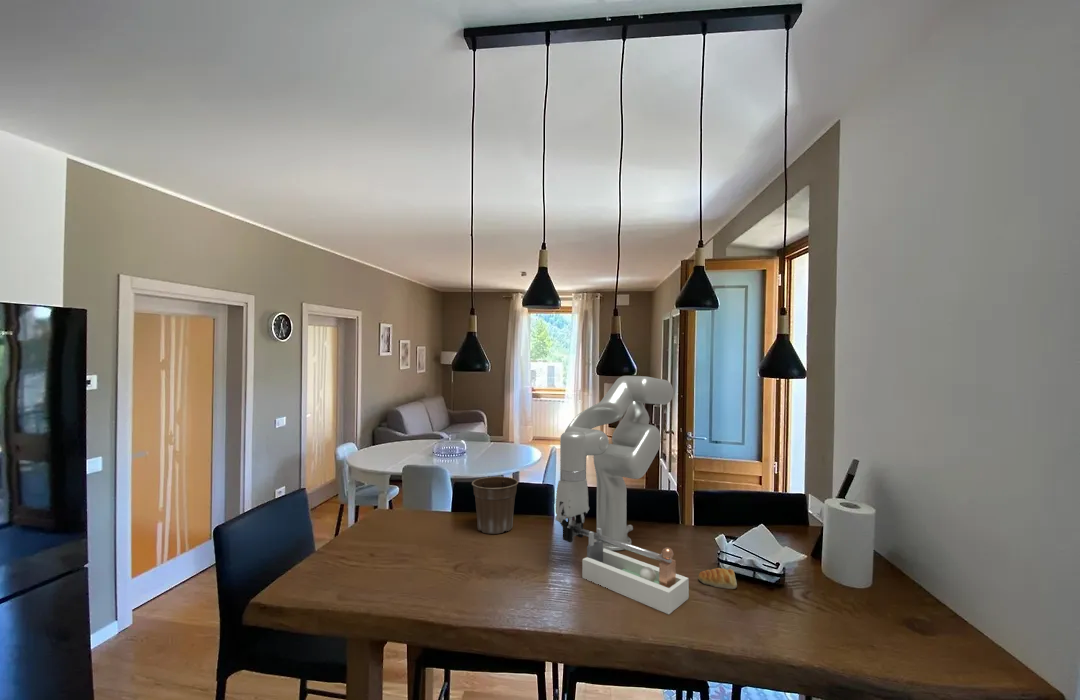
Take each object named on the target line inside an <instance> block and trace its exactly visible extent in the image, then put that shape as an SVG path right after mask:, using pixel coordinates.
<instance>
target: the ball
mask: <svg viewBox="0 0 1080 700" xmlns="http://www.w3.org/2000/svg"><path fill="white" fill-rule="evenodd" d="M640 577H641V578H644V579H646V580H649V581H652V582H654V581H655V579H656V574H655V572H654V570H653V569H652V568H650V567H644V568H642V569H641V571H640Z"/></svg>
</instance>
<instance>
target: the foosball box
mask: <svg viewBox="0 0 1080 700" xmlns="http://www.w3.org/2000/svg"><path fill="white" fill-rule="evenodd" d="M589 531H590V532H589V537H588V545H586V557H584V558H582V563H581V564H582V568H581V569H582V574H581V575H582V576H581V577H582V579H585V580H586V579H587V581H589V582H591V581H592V582H591V583H593V582H594V584H596V585H598V584H599V585H598V586H600V585H601V587H603V588H605V587H606V589H607V588H608V590H610V591H613V592H614V593H617V594H620V595H622V596H625V597H627V598H629V599H632V600H633V601H636V602H638V603H640V604H642V605H646V606H648V607H650V608H652V609H654V610H657V611H659V612H662V613H664V614H666V615H671V614H672V613H673V612H674V611H675V610H676V609H678V608H679V607H680V606H681V605H683V604H684V603H685V602H686V601H687V600H689V597H690V594H689V592H690V590H689V587H690V586H689V583H690V582H689V580H690V579H689V577H686V576H684V575H681V574H679V573H676V583H675V584H674V585H673V586H671V587H670V588H667V587H665V586H662V585H660V584H659V566H656V565H653V564H650V563H647V562H644V561H641V560H638V559H635V558H633V557H631V556H628V555H625V554H621V553H619V552H616V551H614V550H608V549H605V548H604V549H603V542H602V541H599V540H597V541H596V542H594V533H595V532H594V531H591V530H589ZM596 533H597V534H600V535H602V529H601V528H597V527H596ZM644 567H650V568H652V569H653V570H654V572H655V574H656V579H655V581H654V582H652V581H649V580H646V579H644V578H641V577H640V571H641V569H642V568H644Z"/></svg>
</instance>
